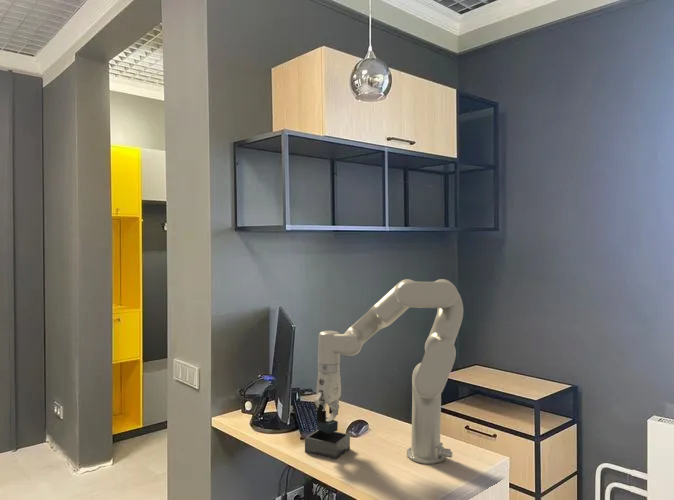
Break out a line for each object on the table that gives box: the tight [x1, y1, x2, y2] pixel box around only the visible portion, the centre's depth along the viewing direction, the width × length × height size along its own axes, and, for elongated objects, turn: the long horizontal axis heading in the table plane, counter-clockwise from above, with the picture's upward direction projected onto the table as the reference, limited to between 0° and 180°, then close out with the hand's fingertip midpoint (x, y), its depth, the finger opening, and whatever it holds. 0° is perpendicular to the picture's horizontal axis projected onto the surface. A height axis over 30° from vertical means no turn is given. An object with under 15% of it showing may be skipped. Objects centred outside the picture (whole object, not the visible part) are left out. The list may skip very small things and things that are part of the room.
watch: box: [316, 400, 340, 434], centre depth 176 cm, size 6×8×11 cm
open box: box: [304, 429, 351, 460], centre depth 177 cm, size 12×10×5 cm
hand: (327, 417), depth 177 cm, fingers closed on watch, 8 cm apart
